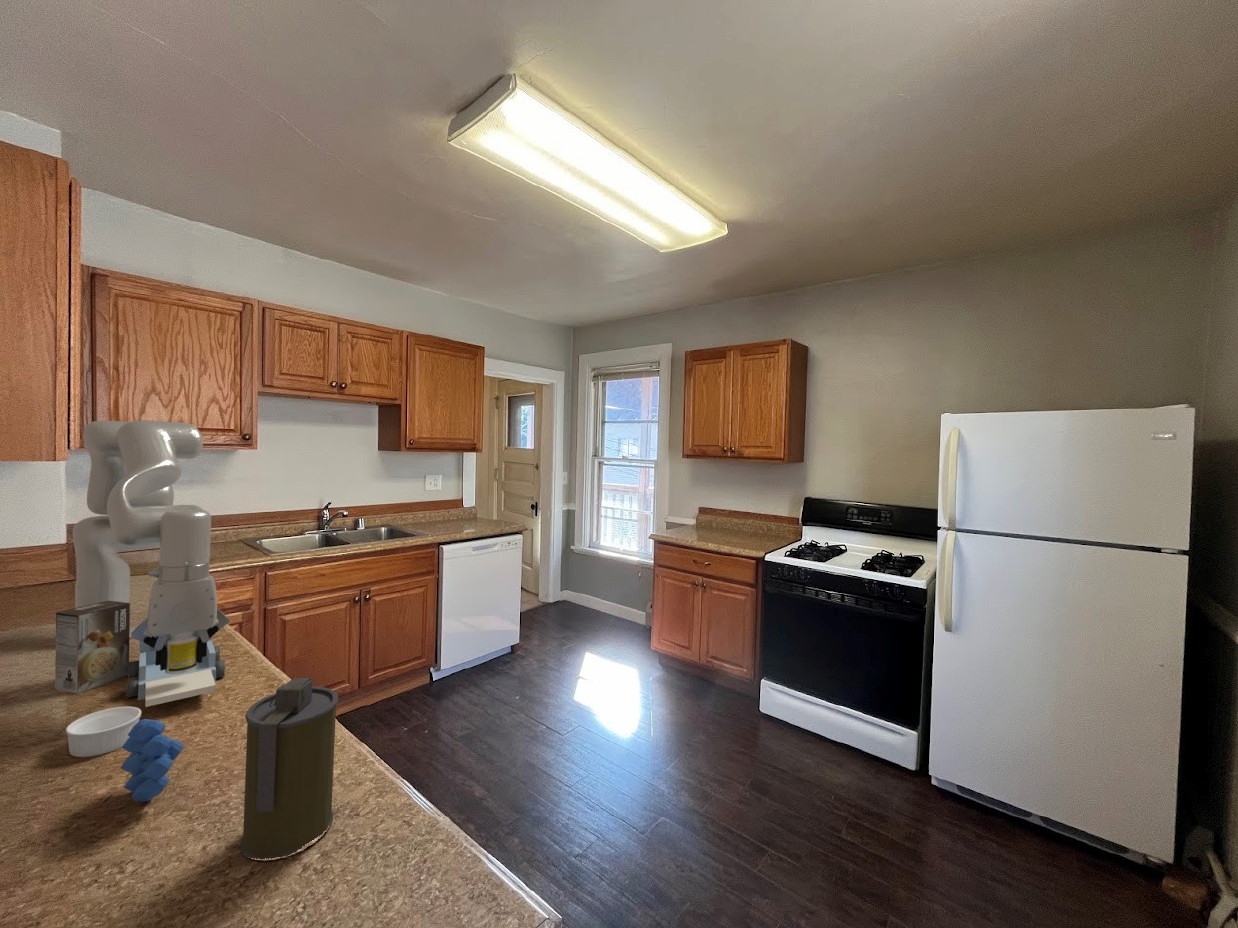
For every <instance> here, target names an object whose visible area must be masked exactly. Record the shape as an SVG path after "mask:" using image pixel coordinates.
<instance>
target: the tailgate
mask: <svg viewBox="0 0 1238 928" xmlns="http://www.w3.org/2000/svg"><path fill="white" fill-rule="evenodd" d="M144 688H145V708H147V707H151V706H156V705H160V704H164V703H169V702H173V701H179V700H183V699H187V698H192V697H196V696H200V695H203V694H204V695H205V694H208V693H209V694H210V693H213V692H216V689H217V687H216V683H215V681H214V678H213V675H212V669H209V670H204V671H199V672H194V673H189V674H184V675H179V676H174V677H170V678H165V679H160V680H155V681H150V682H146V683H144Z"/></svg>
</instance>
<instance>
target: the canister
mask: <svg viewBox="0 0 1238 928" xmlns="http://www.w3.org/2000/svg"><path fill="white" fill-rule="evenodd" d="M313 681H314V678H313V677H294V678H293V679H291V680H289V681H287V683H285V684H281V685H280V686H279V687H277V689H276V692H275V693H273V694H270V695H268V696H265V697H263V698H261V699H260V700H258V701H256V702H254V703H253V704H252V705H251V706H250V707H249V708H248V709H247V711H246V713H245V720H246V722H247V723H246V724H247V725H246V750H245V776H244V777H245V778H244V779H245V781H244V803H243V805H244V807H243V809H244V810H243V828H242V829H243V830H242V831H243V833H242V834H243V835H242V839H241V842H240V850H241V853H242V852H243V853H242V854H243V855H244V854H245V855H246V856H247V857H250V858H254V859H255V858H256V859H258V858H259V859H265V858H266V859H267V858H268V859H269V858H271V859H272V858H276V857H282V856H286V855H287V856H288V855H290V854H292V853H294V852H296V851H297V850H298V849H301V848H302V846H305V844H307V843H309V842H310V841H312V840H314V839H315V838H317V837H318V836H320V835H322V834H323V831H325V830H327V828H328V826H332V824H333V822H334V811H333V809H332V808H333V786H334V783H333V782H334V767H335V766H334V764H335V763H334V761H335V760H334V759H335V740H336V739H335V738H336V717H337V716H336V715H337V703H338V702H339V695H338V693H337V692H336V691H335V690H333V689H330V688H327V687H325V686H313ZM332 821H333V822H332ZM245 855H244V856H245ZM247 857H246V858H247Z"/></svg>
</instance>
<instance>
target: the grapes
mask: <svg viewBox="0 0 1238 928" xmlns="http://www.w3.org/2000/svg"><path fill="white" fill-rule="evenodd" d="M166 727H167V725H166V724H165V723H164V722H162V721H160V720H157V719H156V720H155V719H148V718H142V719H139V722H138V723H137V724H135V725H134V726H133V728H132V729H131V730H130V732H129V734H128V736H129V738H128V739H127V741H126V742H125V743H124V745H123V746H122V747H121V749H123V750H124V751H126V752H128V753H131V754H130V755H129V756H127V757H126V759H125V760H124V761H123V763H122V765H121V766H120V769H121V770H123V771H124V772H126V773H131V774H130V775H131V776H130V777H129V779H128V780H127V782H126V783H125V785H124V786H123V788H124V789H126V790H128V791H129V792H132V795H131V798H132V799H133V800H135V801H137V802H140V803H147V802H150V801H152V799H153V798H154V797H157V796H159V795H160V794H161V793H162V792H163V791H164V790H165V788H166V787H167V785H168V783H169V782H170V779H171V778H169V777H168V776H167V774H168V773H169V771H170V770H171V768H172V766H173V764H174V763H175V761H174V760H176V759H177V757H179V755H180V754H181V753H182V751H183V749H184V747H185V746H186V745H185V744H184V743H182V742H181V741H179V740H178V739H177V740H175V739H172V738H170V737H169V736H167V735H165V734H162V733H163V732H164V731H165V729H166Z"/></svg>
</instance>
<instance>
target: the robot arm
mask: <svg viewBox="0 0 1238 928" xmlns="http://www.w3.org/2000/svg"><path fill="white" fill-rule="evenodd" d="M82 436H83V438H82V439H83V443H84V446H85V448H86V450H87V452H88V454H89V457H90V463H91V465H90V471H89V472H90V473H89V477H88V478H89V479H88V486H87V492H86V506H87V508H88V509H89V511H90V512H91V513H93V514H95V515H96V516H91V517H87V518H83V519H81V520H79V521H78V522H77V523H76V524H75V525H74V527H73V528H72V541H73V546H74V552H75V560H76V577H75V578H76V587H75V588H76V589H75V590H76V591H75V608H78V607H82V606H86V605H91V604H95V603H100V602H104V601H117V602H125V603H130V590H131V586H130V585H131V569H130V565H129V564H128V563H127V562H126V561H125V560H124V559H122V558H120V556H119V555H118V553H123V552H131V551H139V550H150V549H151V550H152V549H155V548H159V557H158V559H159V561H158V563H159V564H158V566H157V567H156V568H154V569H148V578H152V577H153V578H156V579H158V580H155V581H154V582H153V584H152V588H151V591H150V596H149V601H148V602H149V603H148V609H147V610H148V611H147V612H148V613H147V616H146V617H145V619H144V620H142V621H141V622H140V623H139V625H138V626H137V627H134V626H130V636H129V639H131V638H132V639H134V640H136V641H139V642H140V641H142V642H144V643H145V644H147V645H149V646H150V647H152V648H154V649H155V650H156V662H155V666H157V665H160V671H161V670H164V669H165V668H166V646H165V640H166V637H167V635H172V634H178V633H184V632H191V631H197V630H198V632H199V635H200V637H199V639H198V649H197V663H202V657H205V656H206V655H207V642H208V641H209V639H210V638H211V637H212V638H213V636H215V634H216V633H217V632H219V630H221V629H222V628H224V627H225V626H226V625H228V624H229V623H230V618H229V617H228V616H227V615H225V614H224V613H223V611H221V610H220V609H219V608H218V599H217V596H218V595H217V587H216V586H217V585H216V581H215V577H214V576H213V575H210V566H211V565H210V560H211V559H210V557H211V535H212V534H211V533H212V515H211V513H210V511H207V510H205V509H203V508H202V507H201V506H198V505H195V504H178V505H177V504H175V505H174V498H175V493H174V487H173V485H174V484H175V483H176V482H177V481H178V480H179V479H180V477H181V476H182V468H181V466H180V463H179V461H178V459H182V460H183V459H185V460H189V459H194V458H197V457H198V456H200V454H201V453H202V450H203V447H204V439H203V435H202V433H201V431H200V430H199V429H198V428H197V426H195V425H193V424H191V423H187V422H177V421H160V420H148V419H147V420H145V419H144V420H143V419H142V420H133V421H121V420H120V421H119V420H95V421H91V422H90V423H89V422H88V424H86V426H85V427H84V429H83V435H82ZM207 628H209V629H208V630H206V629H207ZM146 629H148V633H149V635H148V634H146V633H144V631H145V630H146ZM153 636H157V637H156V638H155V637H153Z"/></svg>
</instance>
